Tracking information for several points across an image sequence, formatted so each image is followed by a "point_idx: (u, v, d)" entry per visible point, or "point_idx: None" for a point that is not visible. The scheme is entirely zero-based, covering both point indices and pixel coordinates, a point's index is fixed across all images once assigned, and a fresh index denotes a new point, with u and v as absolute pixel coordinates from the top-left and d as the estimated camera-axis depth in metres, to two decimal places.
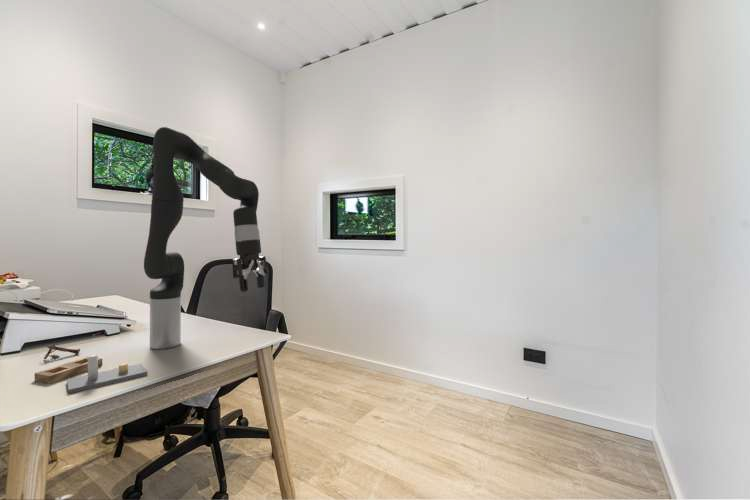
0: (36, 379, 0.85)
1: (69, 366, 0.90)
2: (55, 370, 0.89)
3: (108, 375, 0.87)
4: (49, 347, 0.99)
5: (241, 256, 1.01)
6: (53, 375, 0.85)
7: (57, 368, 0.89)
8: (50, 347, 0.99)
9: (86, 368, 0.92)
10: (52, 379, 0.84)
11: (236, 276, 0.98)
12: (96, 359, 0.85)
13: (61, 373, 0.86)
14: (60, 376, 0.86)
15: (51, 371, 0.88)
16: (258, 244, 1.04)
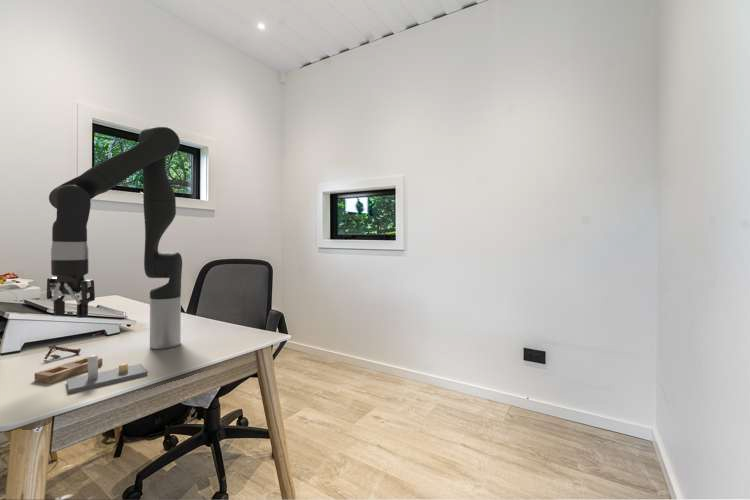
0: (36, 379, 0.85)
1: (69, 366, 0.90)
2: (55, 370, 0.89)
3: (108, 375, 0.87)
4: (50, 347, 0.99)
5: None
6: (53, 375, 0.85)
7: (57, 368, 0.89)
8: (51, 347, 1.00)
9: (86, 368, 0.92)
10: (52, 379, 0.84)
11: None
12: (96, 359, 0.85)
13: (61, 373, 0.86)
14: (60, 376, 0.86)
15: (51, 371, 0.88)
16: (54, 266, 0.86)
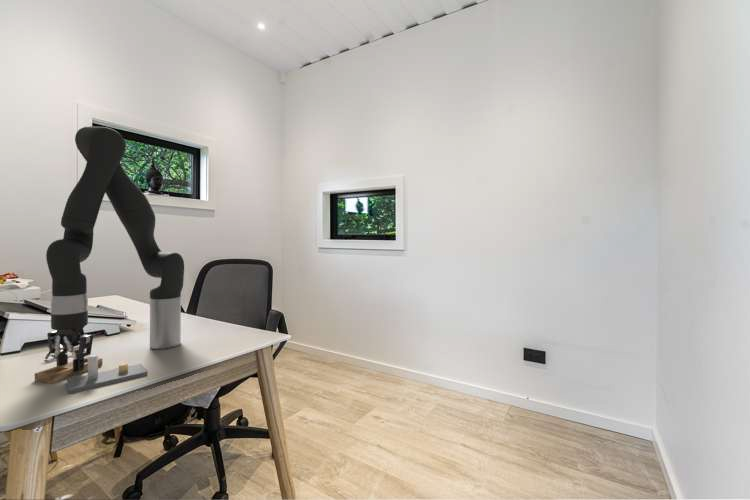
0: (36, 379, 0.85)
1: (69, 366, 0.90)
2: (55, 370, 0.89)
3: (108, 375, 0.87)
4: None
5: None
6: (53, 375, 0.85)
7: (57, 368, 0.89)
8: None
9: (86, 368, 0.92)
10: (52, 379, 0.84)
11: None
12: (96, 359, 0.85)
13: (61, 373, 0.86)
14: (60, 376, 0.86)
15: (51, 371, 0.88)
16: (54, 320, 0.86)
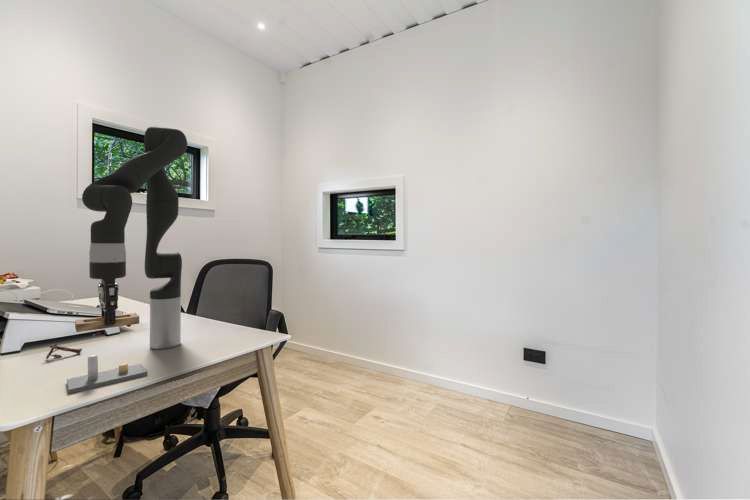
0: (75, 326, 0.84)
1: None
2: (95, 321, 0.86)
3: (108, 375, 0.87)
4: (51, 347, 1.00)
5: None
6: (81, 324, 0.81)
7: (97, 319, 0.87)
8: (52, 347, 1.00)
9: (120, 323, 0.86)
10: (79, 328, 0.81)
11: None
12: (96, 359, 0.85)
13: (90, 324, 0.82)
14: (88, 327, 0.82)
15: (90, 321, 0.85)
16: (89, 268, 0.84)
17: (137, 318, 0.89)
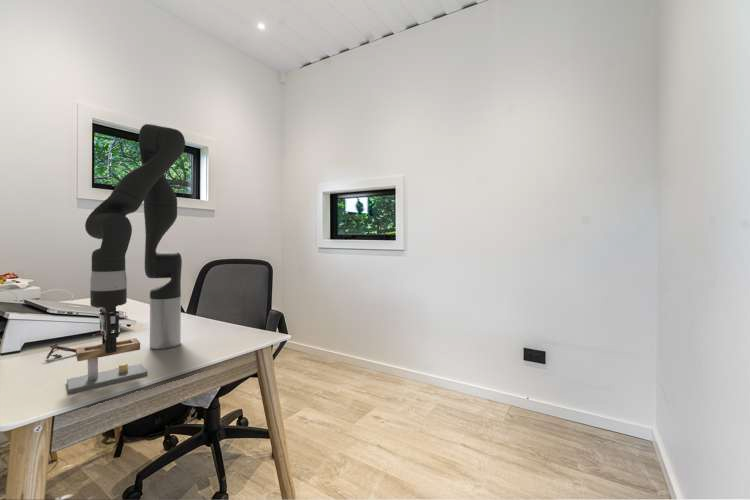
0: (76, 354, 0.84)
1: None
2: (96, 348, 0.86)
3: (108, 375, 0.87)
4: (51, 346, 1.00)
5: None
6: (82, 353, 0.81)
7: (98, 346, 0.87)
8: (52, 346, 1.00)
9: (120, 350, 0.87)
10: (80, 357, 0.81)
11: None
12: (96, 359, 0.85)
13: (91, 352, 0.82)
14: (90, 355, 0.82)
15: (91, 348, 0.86)
16: (90, 296, 0.84)
17: (138, 344, 0.89)
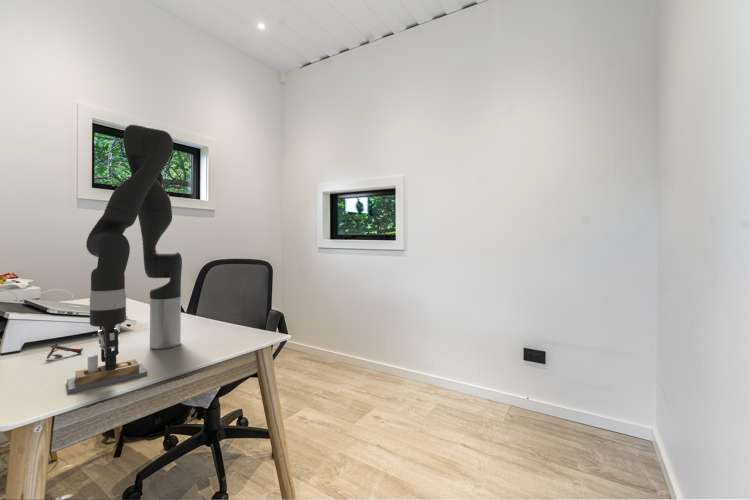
0: None
1: None
2: None
3: None
4: (52, 346, 1.00)
5: None
6: (81, 377, 0.81)
7: None
8: (53, 346, 1.00)
9: (120, 373, 0.87)
10: (79, 381, 0.81)
11: None
12: (96, 359, 0.85)
13: (90, 376, 0.83)
14: (89, 379, 0.82)
15: None
16: (90, 315, 0.84)
17: (137, 366, 0.90)
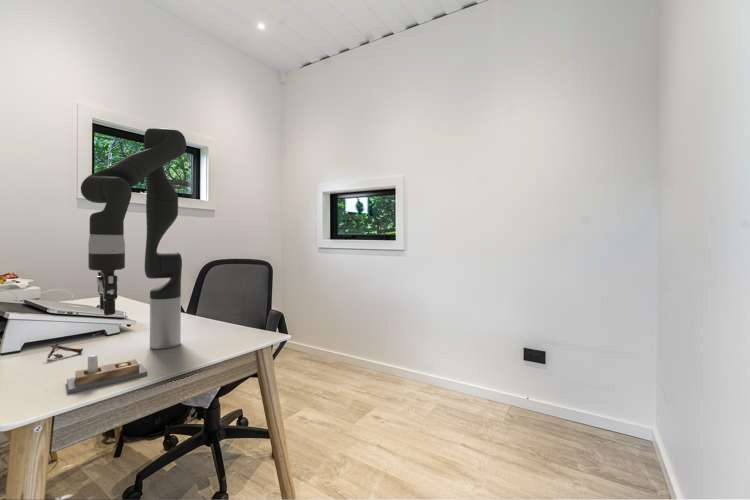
0: None
1: (105, 368, 0.87)
2: None
3: None
4: (52, 346, 1.00)
5: None
6: (81, 377, 0.81)
7: None
8: (53, 346, 1.00)
9: (120, 373, 0.87)
10: (79, 381, 0.81)
11: None
12: (96, 359, 0.85)
13: (90, 376, 0.83)
14: (89, 379, 0.82)
15: None
16: (88, 259, 0.83)
17: (137, 366, 0.90)
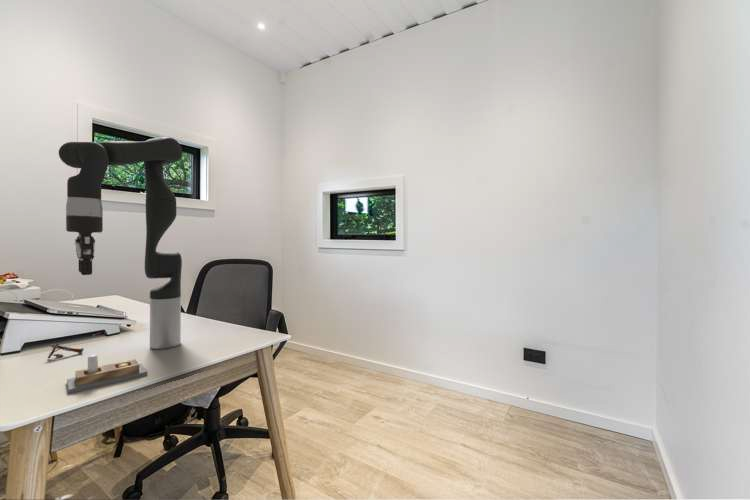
0: None
1: (105, 368, 0.87)
2: None
3: None
4: (53, 346, 1.00)
5: None
6: (81, 377, 0.81)
7: None
8: (54, 346, 1.00)
9: (120, 373, 0.87)
10: (79, 381, 0.81)
11: None
12: (96, 359, 0.85)
13: (90, 376, 0.83)
14: (89, 379, 0.82)
15: None
16: (66, 221, 0.86)
17: (137, 366, 0.90)
